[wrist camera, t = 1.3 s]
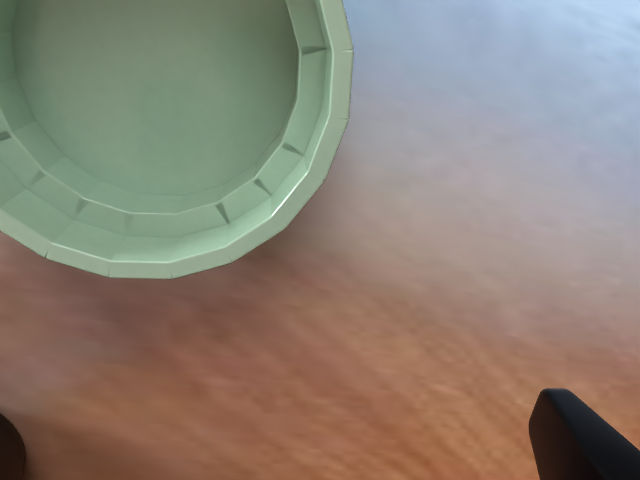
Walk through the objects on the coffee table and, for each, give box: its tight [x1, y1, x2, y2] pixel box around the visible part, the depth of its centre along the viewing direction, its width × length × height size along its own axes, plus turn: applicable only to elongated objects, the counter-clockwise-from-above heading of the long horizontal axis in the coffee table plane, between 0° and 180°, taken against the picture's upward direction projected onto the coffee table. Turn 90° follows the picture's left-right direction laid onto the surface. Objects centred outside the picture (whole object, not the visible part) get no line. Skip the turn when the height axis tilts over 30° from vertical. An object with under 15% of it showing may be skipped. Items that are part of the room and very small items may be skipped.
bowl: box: [0, 0, 354, 279], centre depth 19 cm, size 12×12×5 cm
